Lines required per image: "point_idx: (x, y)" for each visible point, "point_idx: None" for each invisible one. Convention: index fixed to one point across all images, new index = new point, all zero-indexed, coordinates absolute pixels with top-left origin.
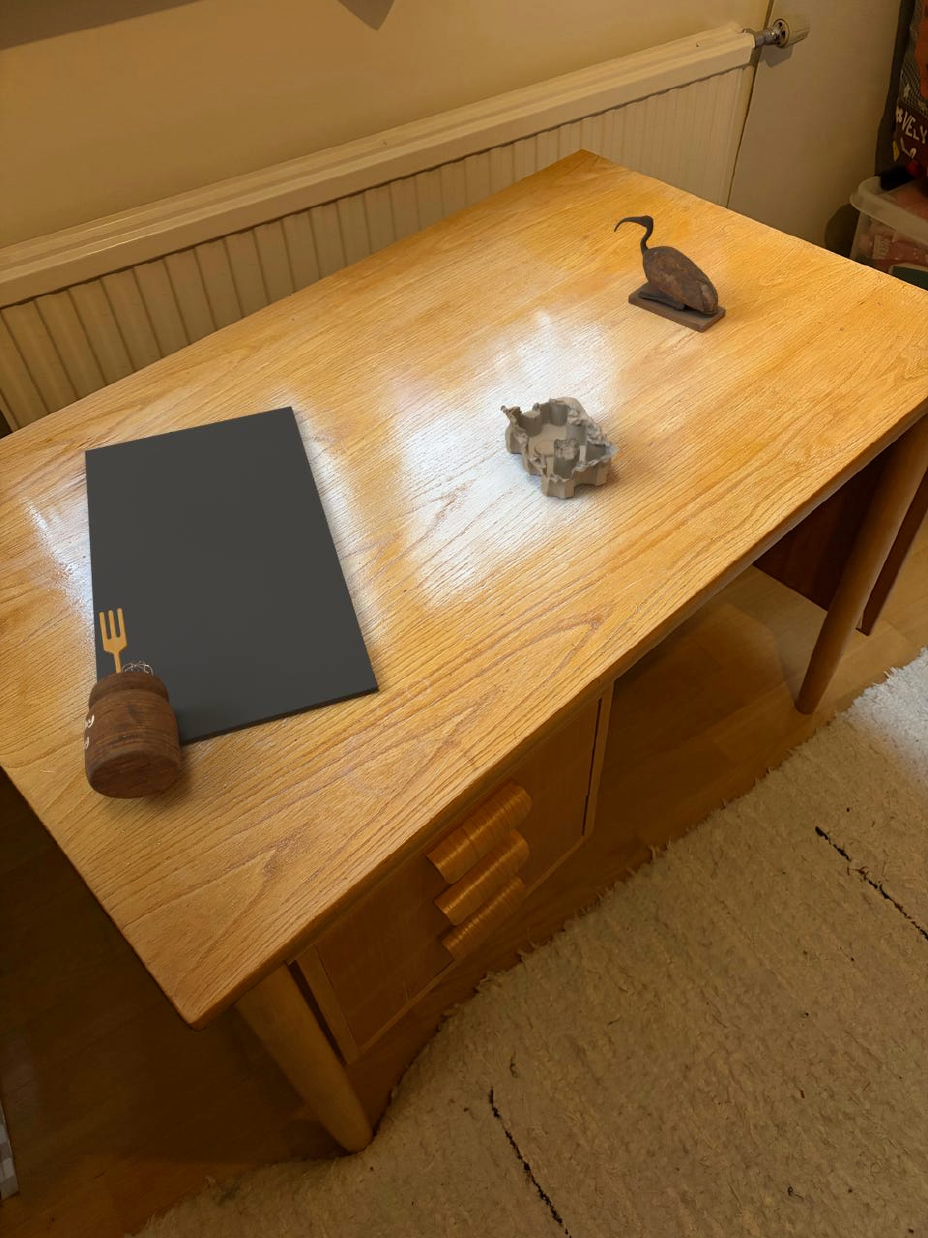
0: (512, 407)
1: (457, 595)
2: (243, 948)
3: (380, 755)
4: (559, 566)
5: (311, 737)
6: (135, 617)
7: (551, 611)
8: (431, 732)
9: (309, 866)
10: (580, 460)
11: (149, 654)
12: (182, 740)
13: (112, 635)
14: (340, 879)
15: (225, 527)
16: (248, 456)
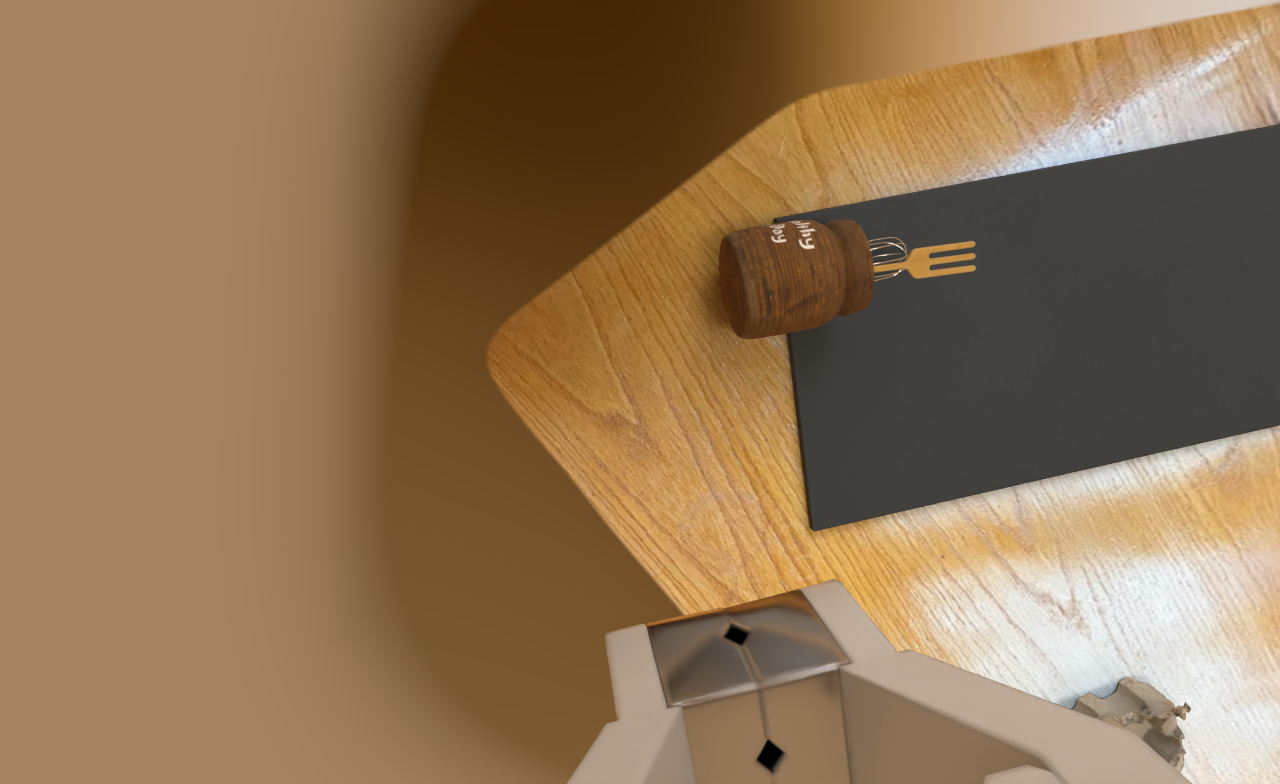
0: (1185, 714)
1: (920, 612)
2: (531, 396)
3: (728, 528)
4: None
5: (765, 456)
6: (989, 235)
7: None
8: (746, 579)
9: (611, 458)
10: None
11: None
12: None
13: (934, 260)
14: (593, 489)
15: (1109, 341)
16: (1230, 364)
